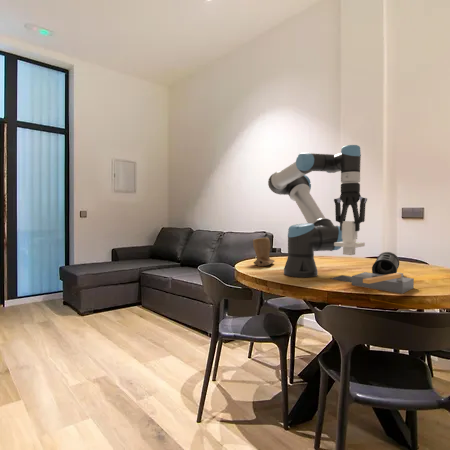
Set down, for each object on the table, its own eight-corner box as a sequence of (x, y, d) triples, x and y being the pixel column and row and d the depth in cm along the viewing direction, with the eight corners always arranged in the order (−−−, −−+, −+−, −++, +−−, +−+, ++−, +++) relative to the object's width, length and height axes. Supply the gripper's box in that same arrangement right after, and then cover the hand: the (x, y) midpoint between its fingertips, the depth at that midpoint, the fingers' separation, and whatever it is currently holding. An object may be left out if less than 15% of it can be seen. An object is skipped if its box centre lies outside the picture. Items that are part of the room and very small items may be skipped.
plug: (333, 254, 134) (334, 221, 134) (343, 252, 141) (344, 220, 140) (355, 256, 128) (355, 221, 127) (364, 254, 134) (365, 221, 134)
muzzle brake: (370, 282, 130) (371, 257, 130) (376, 272, 155) (377, 250, 154) (397, 285, 126) (397, 259, 125) (399, 273, 150) (399, 252, 149)
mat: (330, 280, 135) (330, 278, 135) (342, 276, 143) (342, 275, 143) (355, 284, 127) (355, 282, 127) (367, 280, 135) (367, 278, 135)
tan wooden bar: (397, 275, 115) (397, 272, 115) (404, 276, 113) (404, 273, 113) (362, 282, 104) (362, 278, 104) (369, 283, 102) (369, 280, 102)
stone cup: (256, 262, 184) (256, 236, 184) (276, 263, 180) (276, 236, 179) (247, 266, 170) (248, 238, 170) (269, 267, 166) (269, 238, 165)
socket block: (351, 286, 124) (352, 272, 123) (364, 281, 132) (365, 268, 132) (402, 294, 111) (402, 279, 110) (413, 289, 119) (413, 274, 119)
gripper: (327, 183, 137) (326, 238, 138) (367, 180, 124) (366, 240, 125) (335, 184, 142) (334, 237, 143) (374, 182, 130) (373, 239, 130)
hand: (349, 238), depth 134 cm, fingers closed on plug, 4 cm apart
